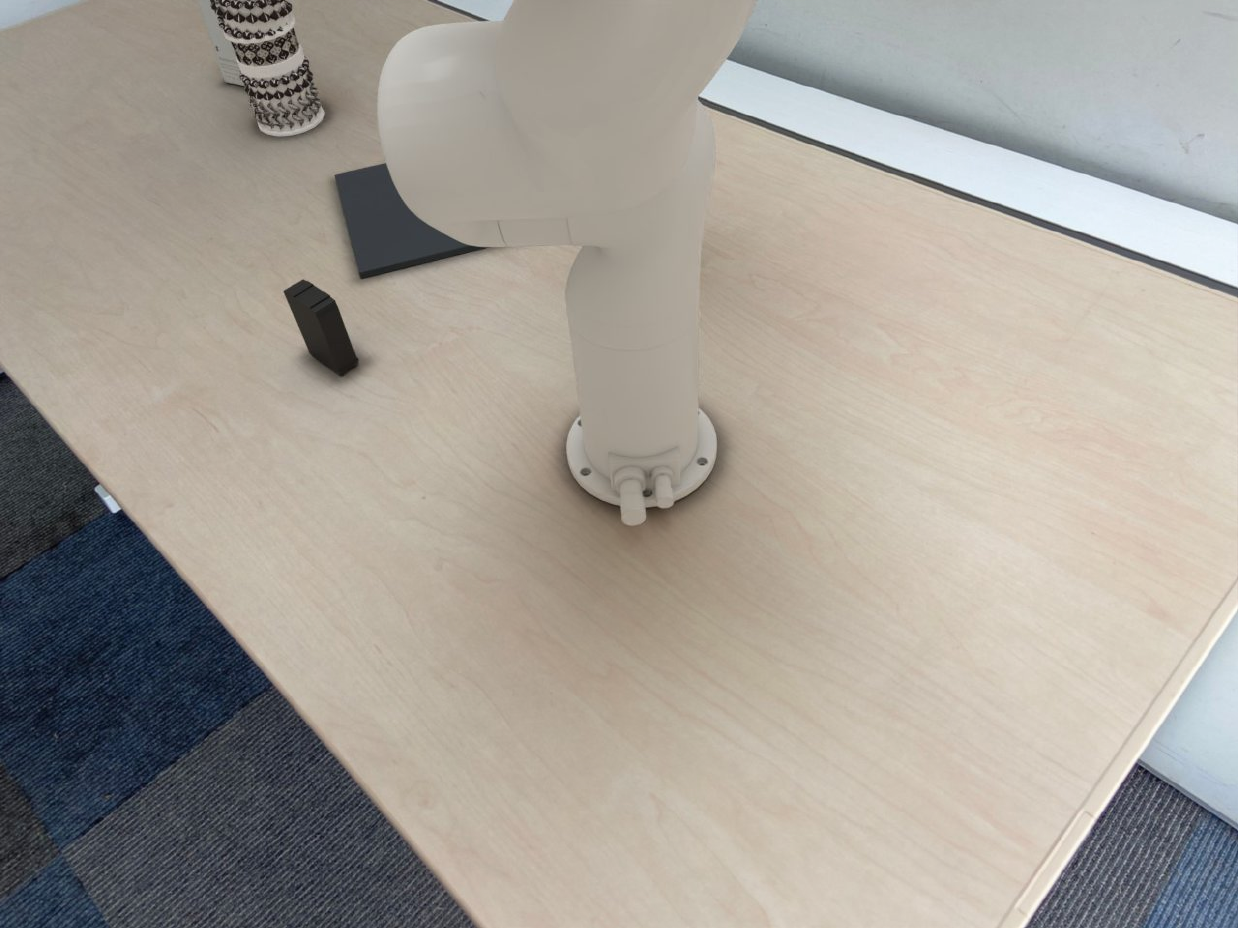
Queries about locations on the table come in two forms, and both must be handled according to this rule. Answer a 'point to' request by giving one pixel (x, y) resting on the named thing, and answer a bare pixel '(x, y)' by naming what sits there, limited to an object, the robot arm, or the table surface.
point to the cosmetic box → (220, 44)
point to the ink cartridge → (321, 326)
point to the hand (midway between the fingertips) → (636, 72)
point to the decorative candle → (271, 64)
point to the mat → (388, 225)
